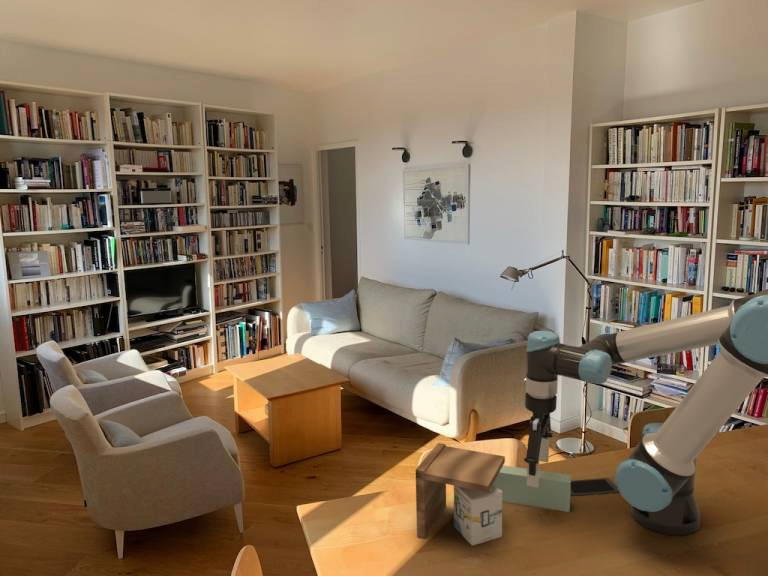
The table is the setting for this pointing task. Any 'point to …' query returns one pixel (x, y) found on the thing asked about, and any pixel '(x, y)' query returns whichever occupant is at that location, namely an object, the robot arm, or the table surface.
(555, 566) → the table surface
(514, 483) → the sage green box
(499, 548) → the table surface
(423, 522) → the shelf
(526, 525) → the table surface
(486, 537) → the ink box
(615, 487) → the cell phone
